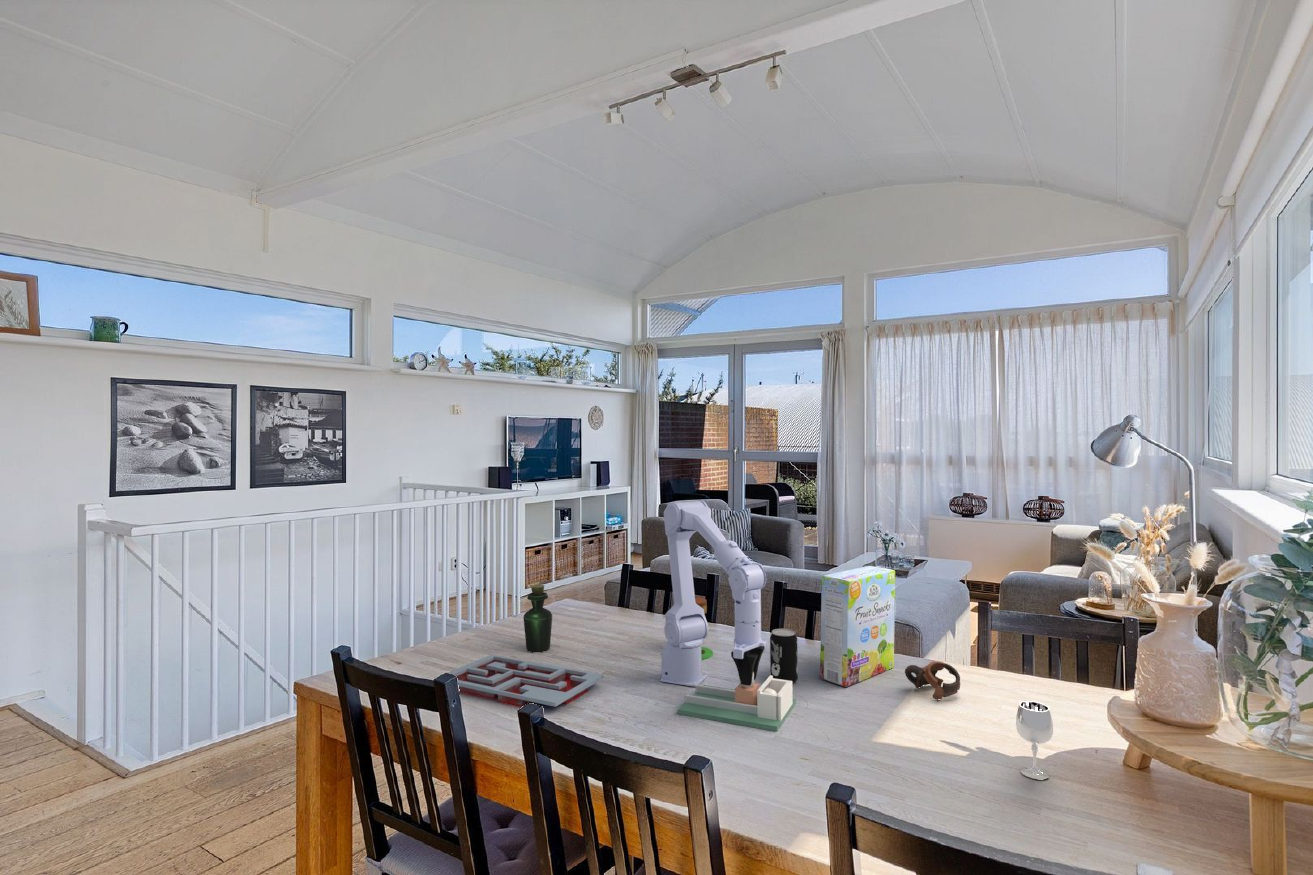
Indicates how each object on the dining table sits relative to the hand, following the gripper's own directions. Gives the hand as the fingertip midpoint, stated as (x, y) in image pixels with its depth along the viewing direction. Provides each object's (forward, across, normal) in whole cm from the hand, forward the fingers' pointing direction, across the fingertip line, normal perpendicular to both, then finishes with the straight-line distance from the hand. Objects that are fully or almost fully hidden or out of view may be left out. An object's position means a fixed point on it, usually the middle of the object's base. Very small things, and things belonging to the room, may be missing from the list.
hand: (748, 681), depth 151 cm
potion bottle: (+6, +18, +68) cm, 70 cm away
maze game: (+7, -9, +54) cm, 55 cm away
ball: (+3, 0, -4) cm, 5 cm away
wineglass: (+6, -7, -54) cm, 55 cm away
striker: (+5, 0, 0) cm, 5 cm away
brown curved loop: (+7, +27, -36) cm, 45 cm away
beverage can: (+6, +21, -2) cm, 22 cm away
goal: (+6, 0, -6) cm, 9 cm away
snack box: (+6, +33, -18) cm, 38 cm away
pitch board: (+6, 0, +2) cm, 7 cm away
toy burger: (+6, +32, +26) cm, 41 cm away
